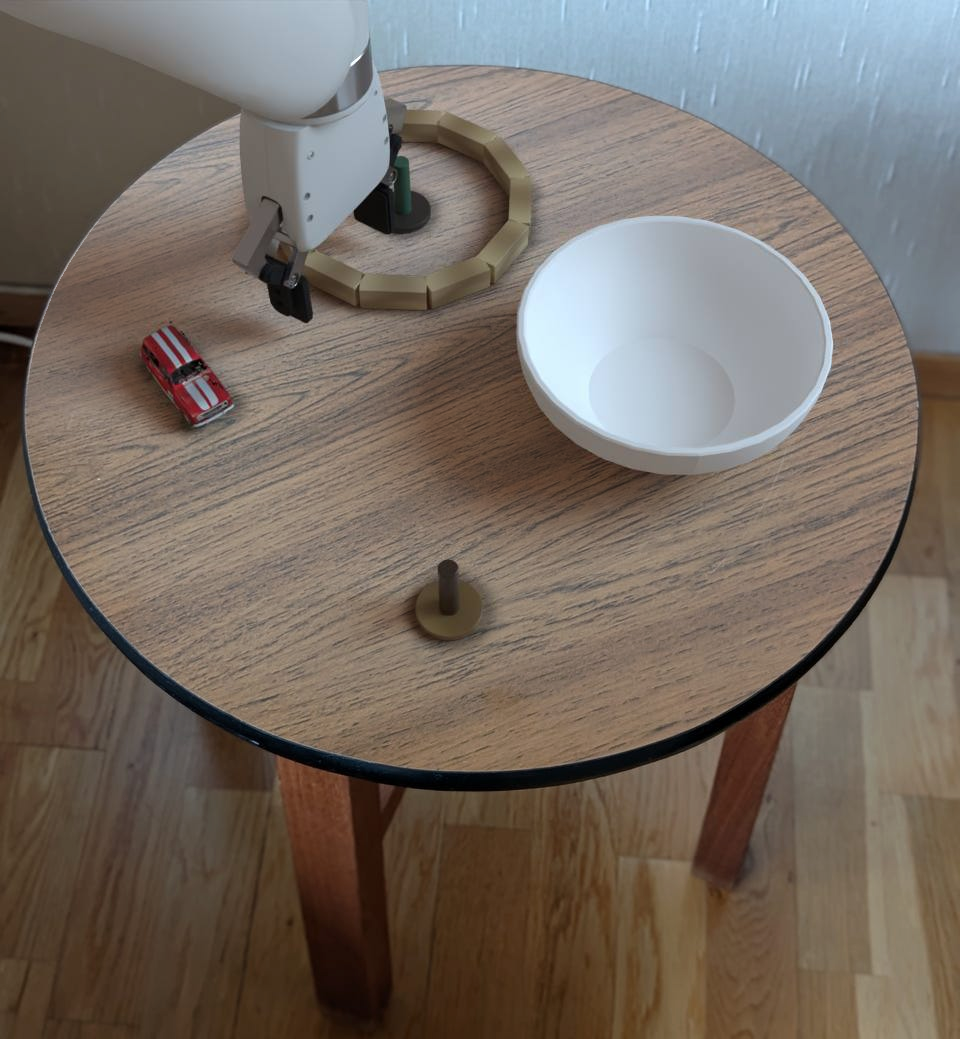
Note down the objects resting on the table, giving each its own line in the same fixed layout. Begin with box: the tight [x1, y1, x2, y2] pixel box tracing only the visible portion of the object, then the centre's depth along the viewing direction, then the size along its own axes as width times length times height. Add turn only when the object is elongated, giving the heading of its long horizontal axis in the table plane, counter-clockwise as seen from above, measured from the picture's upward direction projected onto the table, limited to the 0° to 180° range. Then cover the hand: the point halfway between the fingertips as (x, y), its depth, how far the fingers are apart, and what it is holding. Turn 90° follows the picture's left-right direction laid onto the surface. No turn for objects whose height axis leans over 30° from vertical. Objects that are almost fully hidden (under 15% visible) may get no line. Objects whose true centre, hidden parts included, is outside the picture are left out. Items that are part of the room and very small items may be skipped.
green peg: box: [392, 155, 432, 234], centre depth 96 cm, size 4×4×5 cm
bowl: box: [516, 215, 834, 476], centre depth 85 cm, size 20×20×7 cm
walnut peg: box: [415, 558, 484, 641], centre depth 78 cm, size 4×4×5 cm
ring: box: [279, 108, 533, 311], centre depth 97 cm, size 19×19×2 cm
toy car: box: [139, 320, 235, 429], centre depth 88 cm, size 4×8×3 cm, turn 36°
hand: (334, 267), depth 92 cm, fingers open, 9 cm apart
